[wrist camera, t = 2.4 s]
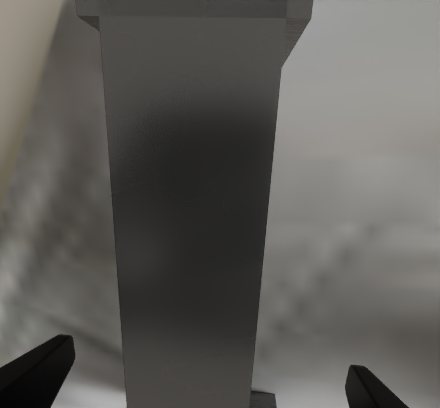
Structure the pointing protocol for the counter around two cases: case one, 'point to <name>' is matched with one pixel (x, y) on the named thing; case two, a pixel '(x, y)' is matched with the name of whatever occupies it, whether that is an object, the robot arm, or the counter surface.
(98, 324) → the counter surface
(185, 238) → the gray arch stand
